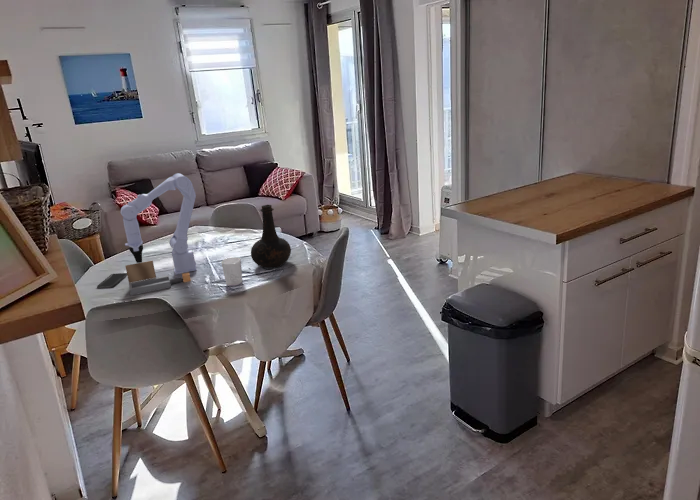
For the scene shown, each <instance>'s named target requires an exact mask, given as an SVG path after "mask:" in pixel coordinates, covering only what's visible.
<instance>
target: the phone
mask: <svg viewBox="0 0 700 500" xmlns="http://www.w3.org/2000/svg"><path fill="white" fill-rule="evenodd" d="M127 277H128V276H127V272H121V273H118V272H117V273H111V274H110V275H109V276H107V277H106V278H105V279H103V281H101V282H100V283H99V284H98V285H96V289H111V288H115V287H117V286H118V284H120V283H121V282H122V281H123V280H124V279H126V278H127Z"/></svg>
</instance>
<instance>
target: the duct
mask: <svg viewBox="0 0 700 500" xmlns="http://www.w3.org/2000/svg"><path fill="white" fill-rule="evenodd" d="M165 280H169V281H165ZM160 281H164V282H160ZM171 285H172V284H170V277H169V275H164V276H163V275H162V276H159V277H156V278H152V279H146V280H141V281H136V282H131V283H129V282H128V290H129V295H130V296H135V295H140V294H145V293H148V292H149V293H150V292H155V291H159V290H164V289H169V288H171Z"/></svg>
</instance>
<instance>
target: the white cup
mask: <svg viewBox="0 0 700 500" xmlns="http://www.w3.org/2000/svg"><path fill="white" fill-rule="evenodd" d="M221 267H222V270H223V276H224V279H225V284H226V286H229V287H232V286H238V285H241V284H242V282H243V271H242V270H243V269H242V261H241V258H239V257H229V258H225V259H222V261H221Z"/></svg>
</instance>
